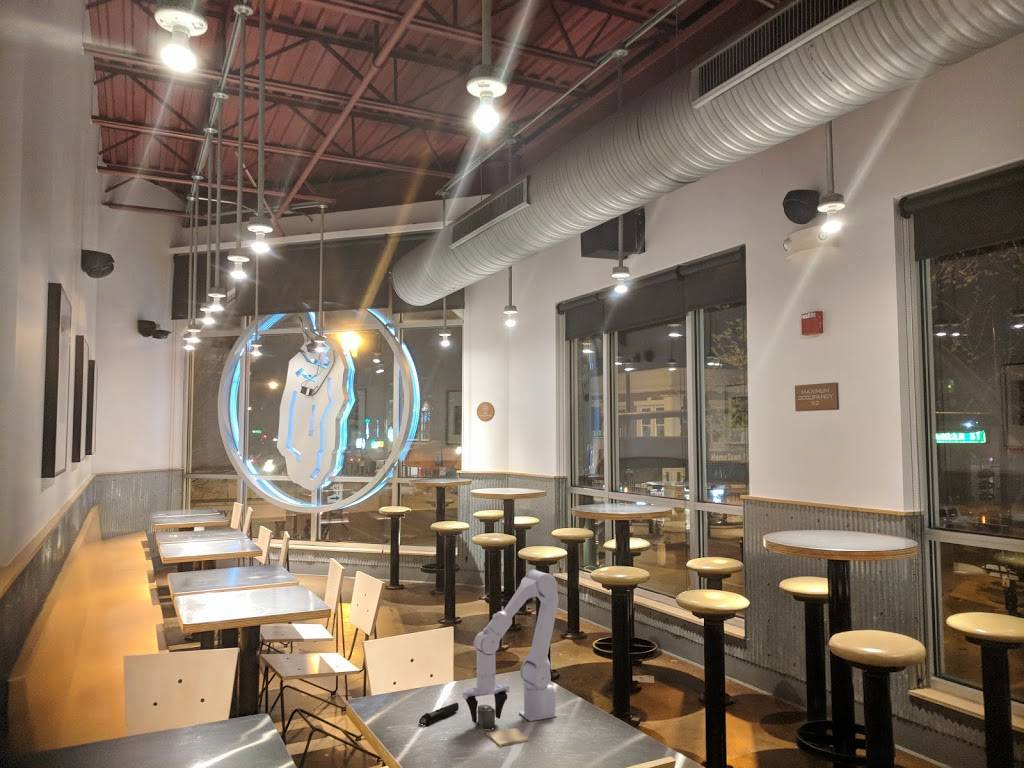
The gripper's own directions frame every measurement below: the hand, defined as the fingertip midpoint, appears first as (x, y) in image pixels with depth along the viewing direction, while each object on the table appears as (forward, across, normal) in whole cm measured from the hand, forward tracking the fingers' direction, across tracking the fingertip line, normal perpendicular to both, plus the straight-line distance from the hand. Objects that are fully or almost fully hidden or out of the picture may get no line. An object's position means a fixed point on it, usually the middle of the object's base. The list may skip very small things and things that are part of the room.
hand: (486, 719), depth 226 cm
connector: (+2, 0, 0) cm, 2 cm away
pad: (+2, +2, -12) cm, 12 cm away
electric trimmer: (+2, -11, +12) cm, 16 cm away
